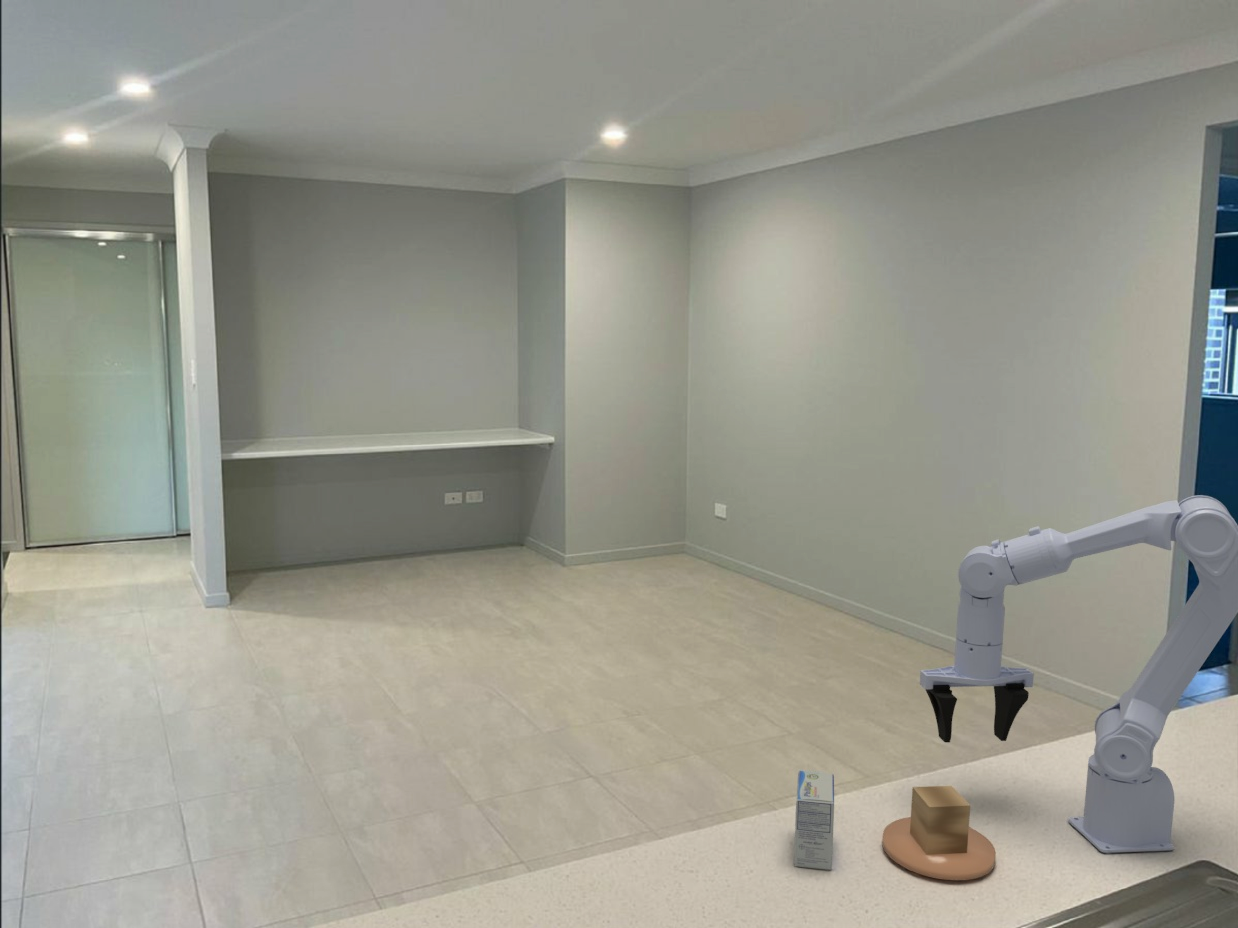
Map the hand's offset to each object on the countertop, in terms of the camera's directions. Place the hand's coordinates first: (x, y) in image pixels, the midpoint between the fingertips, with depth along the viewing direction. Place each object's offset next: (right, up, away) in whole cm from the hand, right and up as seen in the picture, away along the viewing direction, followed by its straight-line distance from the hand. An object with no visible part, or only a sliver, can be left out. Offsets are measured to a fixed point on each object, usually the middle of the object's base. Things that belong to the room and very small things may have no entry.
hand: (972, 738), depth 131 cm
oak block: (-8, -10, -11) cm, 17 cm away
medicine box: (-23, -11, -11) cm, 28 cm away
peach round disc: (-8, -11, -11) cm, 17 cm away
